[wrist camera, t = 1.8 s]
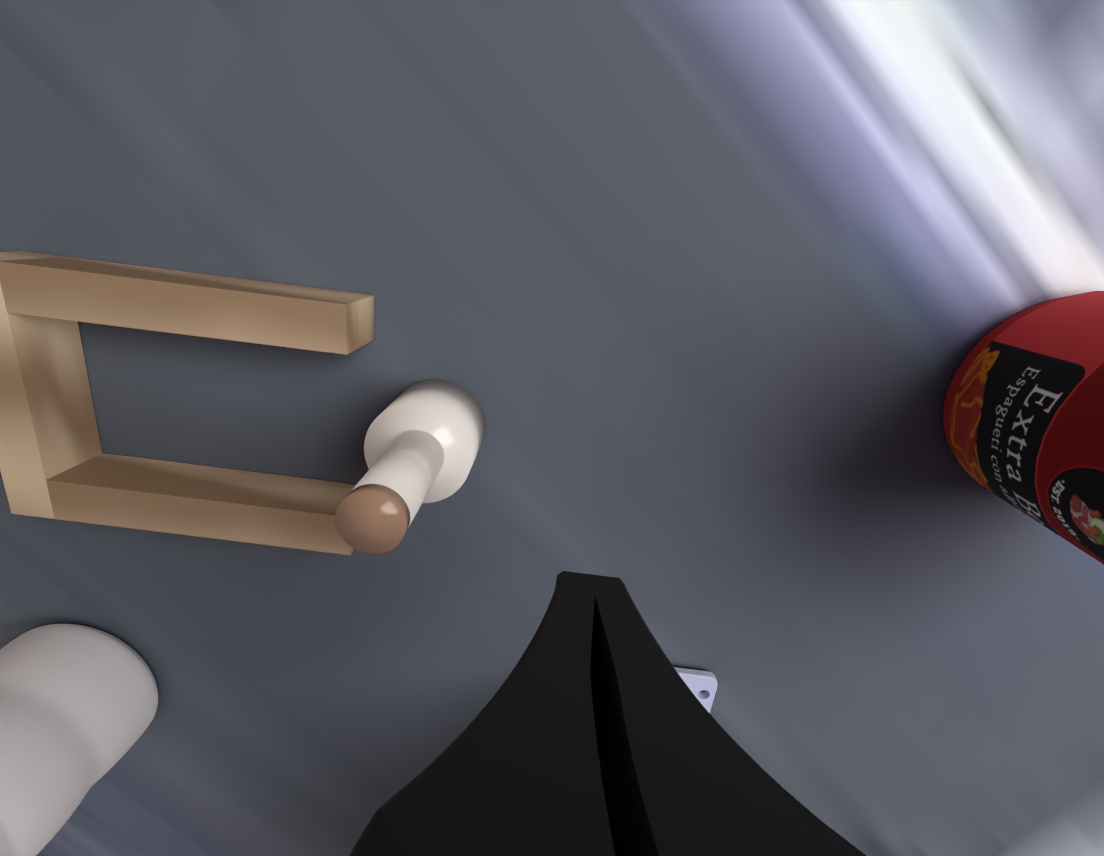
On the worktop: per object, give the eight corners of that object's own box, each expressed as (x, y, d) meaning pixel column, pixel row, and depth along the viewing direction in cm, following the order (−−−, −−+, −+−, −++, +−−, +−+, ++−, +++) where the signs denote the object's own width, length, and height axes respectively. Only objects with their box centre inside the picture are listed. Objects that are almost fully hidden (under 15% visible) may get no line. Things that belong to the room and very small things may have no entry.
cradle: (373, 521, 23) (350, 555, 20) (70, 483, 23) (11, 513, 20) (374, 295, 19) (346, 304, 17) (20, 251, 19) (-56, 254, 17)
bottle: (481, 472, 22) (436, 590, 15) (391, 461, 22) (303, 574, 15) (488, 385, 20) (442, 469, 13) (393, 373, 20) (296, 451, 13)
